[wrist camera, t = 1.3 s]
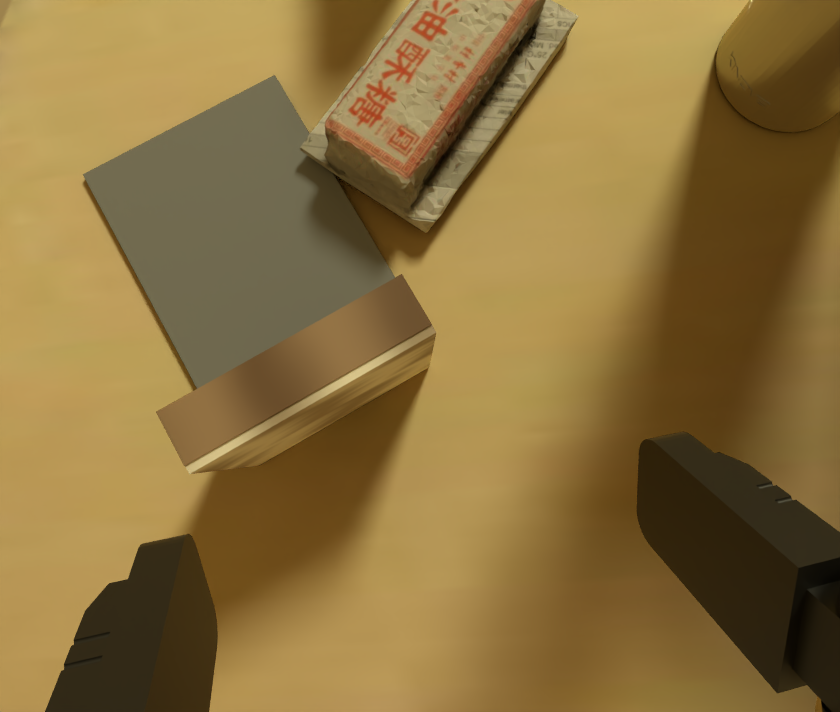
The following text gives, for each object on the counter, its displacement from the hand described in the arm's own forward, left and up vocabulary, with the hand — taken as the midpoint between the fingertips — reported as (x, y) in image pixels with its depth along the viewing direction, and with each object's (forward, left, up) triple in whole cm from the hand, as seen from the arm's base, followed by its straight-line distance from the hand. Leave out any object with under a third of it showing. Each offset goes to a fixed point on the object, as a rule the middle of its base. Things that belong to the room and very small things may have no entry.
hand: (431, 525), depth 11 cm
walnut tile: (+2, -7, -27) cm, 28 cm away
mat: (+2, -18, -27) cm, 32 cm away
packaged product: (-14, -21, -27) cm, 37 cm away
